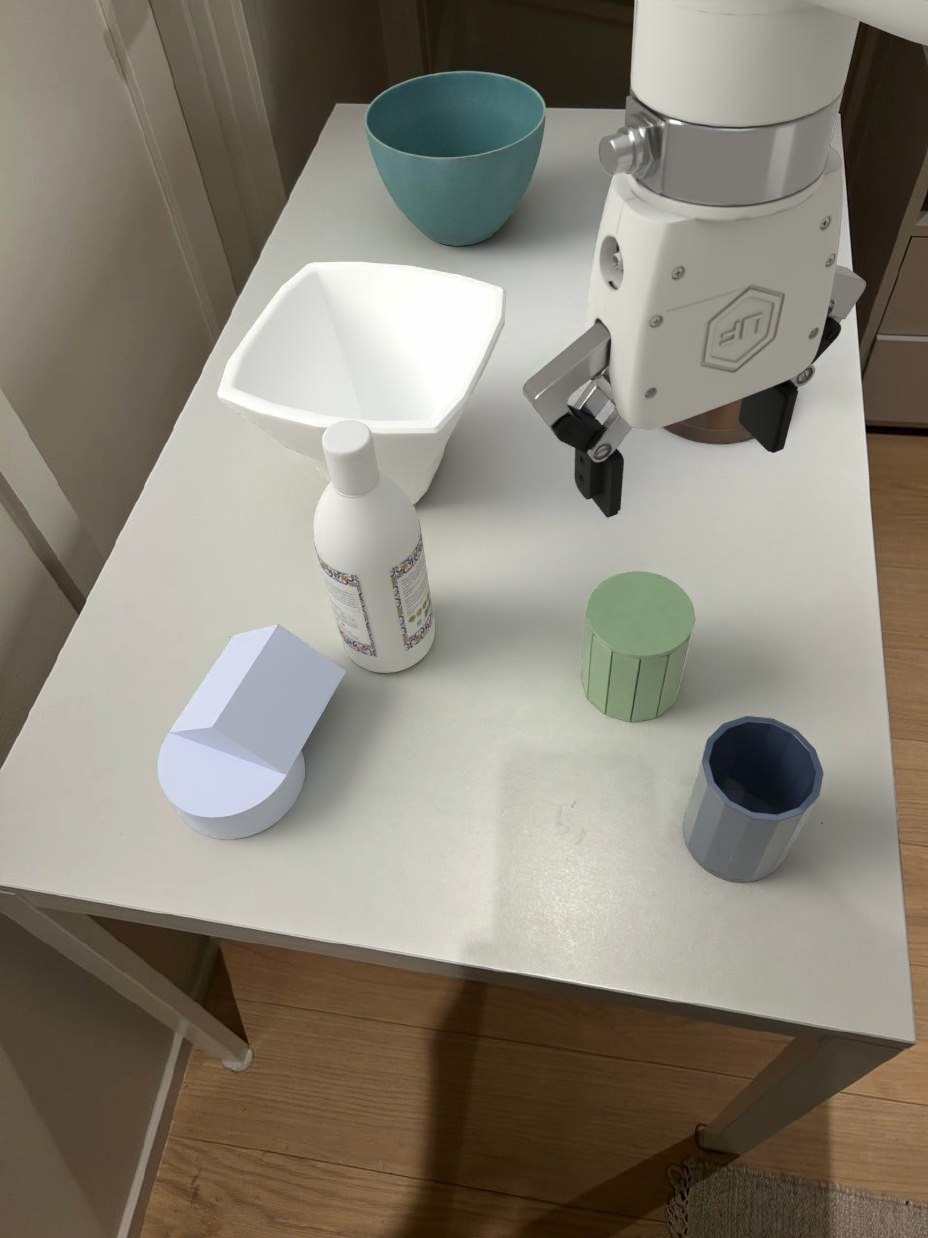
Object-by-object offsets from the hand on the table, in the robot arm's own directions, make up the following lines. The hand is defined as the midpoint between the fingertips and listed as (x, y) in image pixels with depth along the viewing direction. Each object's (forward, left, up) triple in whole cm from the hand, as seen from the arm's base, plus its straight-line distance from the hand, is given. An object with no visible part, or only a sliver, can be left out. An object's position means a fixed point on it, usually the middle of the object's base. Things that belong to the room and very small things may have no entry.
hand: (680, 466), depth 48 cm
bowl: (+26, -14, -22) cm, 37 cm away
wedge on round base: (+24, +14, -22) cm, 35 cm away
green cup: (+1, 0, -21) cm, 21 cm away
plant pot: (+34, -52, -22) cm, 66 cm away
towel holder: (+2, -32, -21) cm, 38 cm away
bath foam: (+19, +2, -22) cm, 29 cm away
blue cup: (-8, +9, -21) cm, 24 cm away
